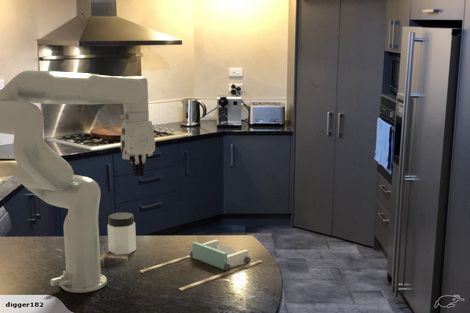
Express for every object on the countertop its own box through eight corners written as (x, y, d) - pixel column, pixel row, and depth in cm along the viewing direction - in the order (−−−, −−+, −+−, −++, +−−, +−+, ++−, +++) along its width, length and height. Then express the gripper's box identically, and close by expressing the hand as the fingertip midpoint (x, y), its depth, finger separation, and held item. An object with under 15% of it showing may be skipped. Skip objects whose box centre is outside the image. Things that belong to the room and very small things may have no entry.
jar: (140, 251, 206) (139, 216, 203) (118, 256, 201) (116, 221, 198) (126, 244, 212) (125, 210, 210) (105, 249, 207) (103, 215, 205)
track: (181, 290, 173) (181, 289, 173) (139, 271, 188) (139, 270, 187) (262, 262, 195) (262, 261, 195) (218, 247, 209) (218, 245, 209)
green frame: (225, 271, 186) (225, 254, 185) (189, 257, 198) (189, 242, 197) (250, 262, 194) (250, 246, 193) (214, 249, 206) (214, 234, 205)
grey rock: (235, 275, 194) (241, 261, 191) (216, 272, 192) (222, 257, 189) (230, 256, 202) (235, 241, 200) (211, 253, 200) (217, 238, 198)
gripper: (122, 120, 182) (125, 181, 186) (163, 115, 192) (165, 173, 196) (108, 118, 188) (111, 177, 191) (149, 113, 198) (151, 170, 201)
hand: (138, 175), depth 194 cm, fingers closed
